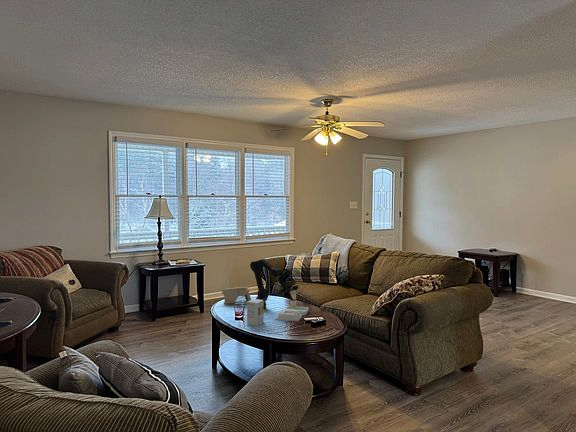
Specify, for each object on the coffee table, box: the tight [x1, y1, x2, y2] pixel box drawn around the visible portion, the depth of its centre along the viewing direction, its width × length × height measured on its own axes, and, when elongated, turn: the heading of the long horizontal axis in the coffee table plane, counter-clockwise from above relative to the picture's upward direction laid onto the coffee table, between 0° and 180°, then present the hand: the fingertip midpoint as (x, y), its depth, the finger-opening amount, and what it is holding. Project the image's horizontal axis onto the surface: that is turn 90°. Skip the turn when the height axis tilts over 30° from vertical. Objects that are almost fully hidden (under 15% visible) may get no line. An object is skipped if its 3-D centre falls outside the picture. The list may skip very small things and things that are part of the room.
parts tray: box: [290, 305, 309, 316], centre depth 313 cm, size 12×12×3 cm
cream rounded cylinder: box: [289, 290, 297, 309], centre depth 301 cm, size 5×5×13 cm
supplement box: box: [246, 298, 265, 327], centre depth 286 cm, size 10×9×17 cm
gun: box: [221, 286, 252, 305], centre depth 338 cm, size 24×3×15 cm, turn 84°
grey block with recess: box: [274, 308, 303, 323], centre depth 299 cm, size 18×14×4 cm
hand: (294, 299), depth 300 cm, fingers closed on cream rounded cylinder, 4 cm apart
